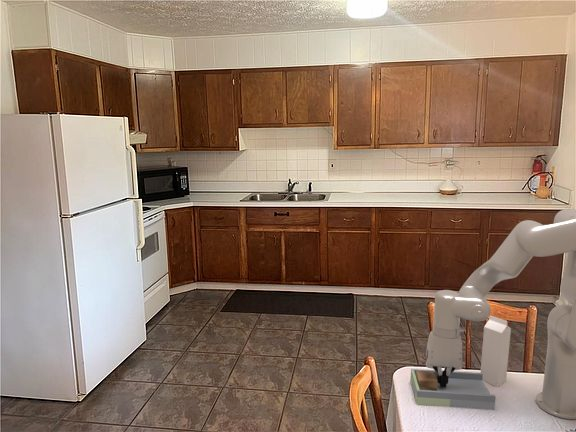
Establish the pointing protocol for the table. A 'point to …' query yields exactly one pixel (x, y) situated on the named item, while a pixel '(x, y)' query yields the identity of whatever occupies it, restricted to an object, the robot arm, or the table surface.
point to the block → (426, 380)
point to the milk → (495, 351)
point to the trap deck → (455, 391)
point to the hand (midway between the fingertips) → (442, 385)
